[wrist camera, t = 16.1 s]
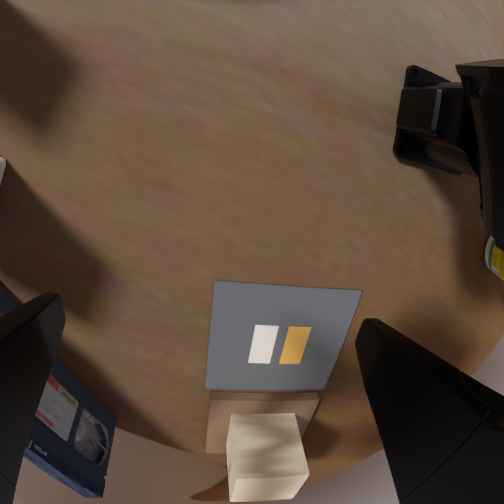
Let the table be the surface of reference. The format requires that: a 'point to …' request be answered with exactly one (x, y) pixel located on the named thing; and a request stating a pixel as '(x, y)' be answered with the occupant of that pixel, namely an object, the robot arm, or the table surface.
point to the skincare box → (2, 168)
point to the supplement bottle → (494, 258)
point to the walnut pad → (254, 411)
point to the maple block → (264, 457)
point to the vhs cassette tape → (69, 429)
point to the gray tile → (276, 335)
